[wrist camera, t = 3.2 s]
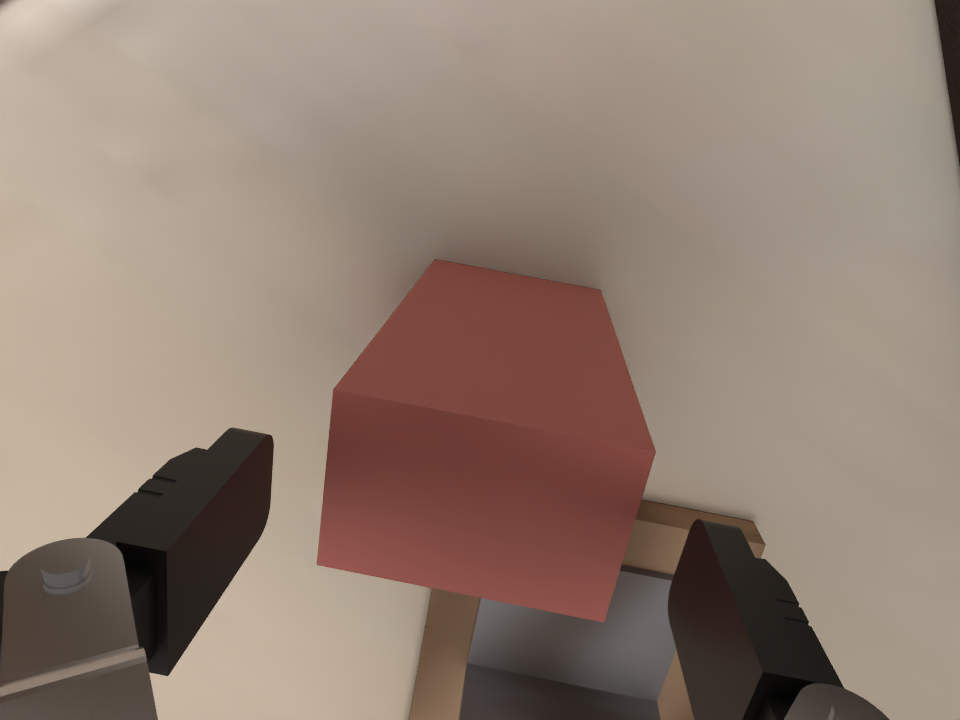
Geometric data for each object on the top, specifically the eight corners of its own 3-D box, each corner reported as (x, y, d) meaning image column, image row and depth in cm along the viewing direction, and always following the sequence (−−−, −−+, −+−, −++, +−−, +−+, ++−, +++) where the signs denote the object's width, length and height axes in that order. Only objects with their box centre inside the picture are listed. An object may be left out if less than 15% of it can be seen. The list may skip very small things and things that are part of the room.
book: (600, 290, 23) (655, 451, 12) (575, 391, 24) (604, 622, 13) (434, 259, 23) (333, 389, 12) (420, 362, 25) (316, 564, 13)
